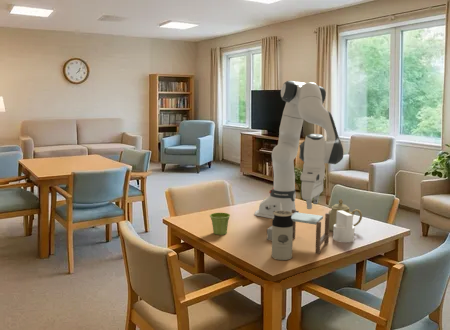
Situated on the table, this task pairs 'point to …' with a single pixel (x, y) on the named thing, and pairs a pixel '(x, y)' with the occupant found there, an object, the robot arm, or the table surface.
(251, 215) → the table surface
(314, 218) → the trapdoor
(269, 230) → the stone
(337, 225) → the base with upright slab
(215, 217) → the plant pot
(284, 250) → the travel mug
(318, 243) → the frame
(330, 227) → the olive teapot
